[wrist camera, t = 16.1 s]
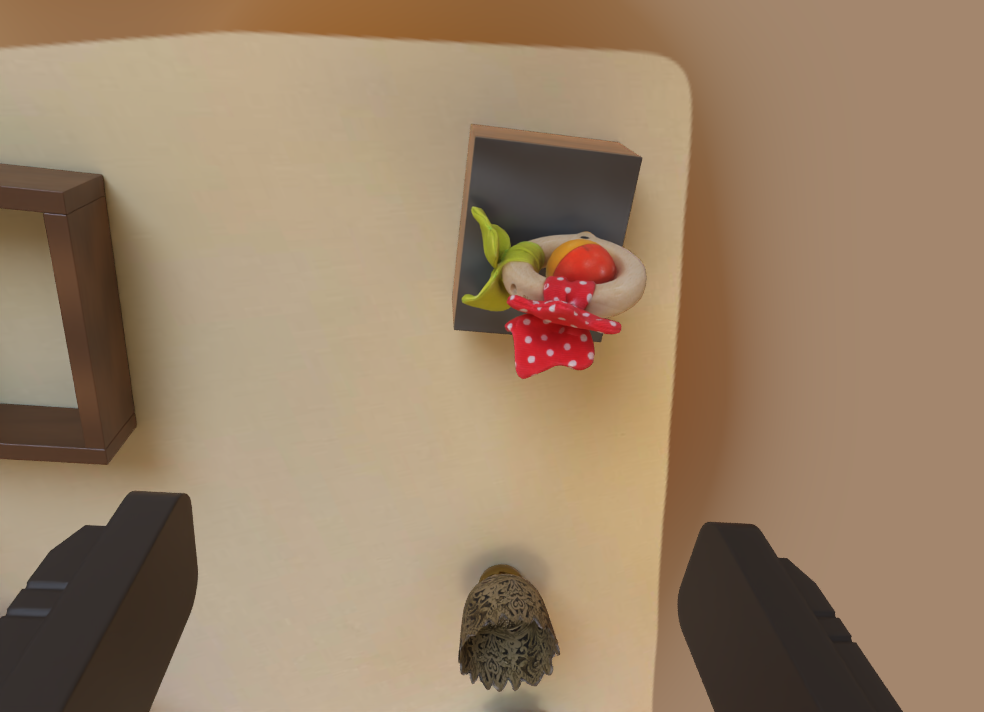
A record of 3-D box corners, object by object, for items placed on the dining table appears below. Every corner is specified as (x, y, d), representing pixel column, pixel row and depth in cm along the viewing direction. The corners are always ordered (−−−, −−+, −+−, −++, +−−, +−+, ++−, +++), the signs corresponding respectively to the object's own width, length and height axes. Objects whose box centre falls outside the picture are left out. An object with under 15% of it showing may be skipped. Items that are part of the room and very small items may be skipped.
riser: (470, 123, 38) (475, 136, 33) (619, 142, 39) (642, 157, 35) (451, 298, 43) (453, 330, 38) (584, 310, 44) (601, 342, 39)
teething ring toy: (571, 177, 37) (425, 210, 33) (718, 217, 28) (539, 267, 24) (575, 280, 40) (441, 320, 36) (708, 346, 31) (548, 407, 27)
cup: (469, 536, 52) (474, 616, 45) (555, 550, 54) (573, 631, 46) (446, 601, 55) (447, 686, 48) (528, 614, 57) (541, 698, 49)
